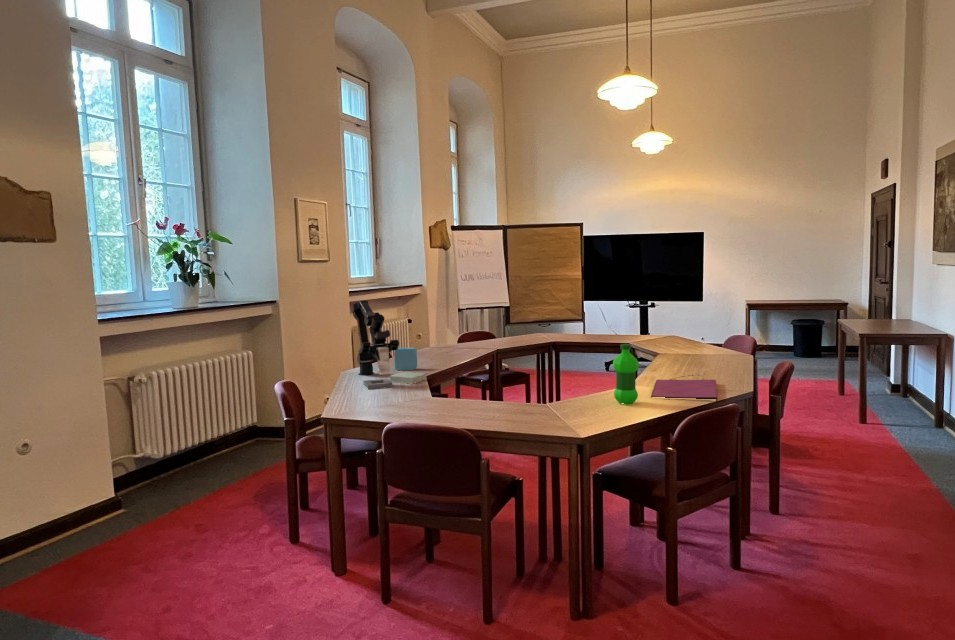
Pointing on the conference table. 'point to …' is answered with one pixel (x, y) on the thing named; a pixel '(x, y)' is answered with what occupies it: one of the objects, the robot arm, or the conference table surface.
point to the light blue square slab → (405, 358)
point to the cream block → (383, 360)
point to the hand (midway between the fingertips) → (384, 359)
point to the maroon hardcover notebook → (685, 389)
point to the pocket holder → (377, 383)
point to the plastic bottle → (625, 375)
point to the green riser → (408, 377)
